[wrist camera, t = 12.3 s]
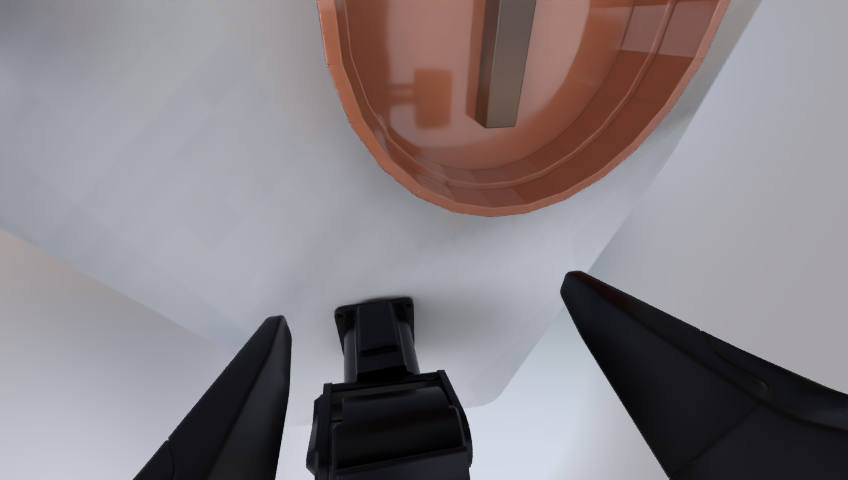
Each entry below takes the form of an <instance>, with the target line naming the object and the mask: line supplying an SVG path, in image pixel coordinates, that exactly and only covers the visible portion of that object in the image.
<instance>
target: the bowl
mask: <svg viewBox="0 0 848 480" xmlns="http://www.w3.org/2000/svg"><path fill="white" fill-rule="evenodd" d="M729 3H730V0H536V6H535V12H534V18H533V24H532V29H531V35H530V41H529V47H528V53H527V59H526V65H525V71H524V77H523V83H522V89H521V95H520V101H519V107H518V113H517V119H516V124H515V127H507V128H490V129H486V128H484V127H483V126H481V125H480V124H479V123H477V122H476V121H475V111H476V100H477V90H478V79H479V69H480V58H481V47H482V37H483V26H484V15H485V5H486V0H317V6H318V12H319V19H320V25H321V32H322V38H323V45H324V51H325V58H326V64H327V65H328V70H329V73H330V75H331V78H332V80H333V83H334V85H335V88H336V90H337V93H338V95H339V98H340V100H341V103H342V105H343V108H344V110H345V113H346V115H347V118H348V120H349V123H350V124H351V127H352V128H353V129H354V131H355V132H356V134H357V135H358V136H359V138H360V139H361V141H362V142H363V143H364V145H365V146H366V148H367V149H368V150H369V152H370V153H371V155H372V156H373V157H374V159H375V160H376V162H377V163H378V164H379V166H380V167H382V169H383V170H384V171H386V172H387V173H388V174H389V175H390V176H392V177H393V178H394V179H395V180H397V181H398V182H399V183H400V184H402V185H403V186H404V187H405V188H406V189H408V190H409V191H410V192H411V193H413V194H414V195H416V196H417V197H419V198H421V199H424V200H426V201H428V202H431V203H433V204H435V205H438V206H440V207H442V208H445V209H447V210H449V211H452V212H456V213H463V214H471V215H478V216H485V217H496V216H506V215H515V214H524V213H529V212H531V211H534V210H537V209H540V208H543V207H546V206H549V205H552V204H555V203H558V202H560V201H563V200H565V199H567V198H569V197H571V196H572V195H574V194H576V193H578V192H579V191H581V190H583V189H585V188H586V187H588V186H590V185H591V184H593V183H595V182H597V181H598V180H600V179H601V178H603V177H604V176H606V175H607V174H608V173H609V172H610V171H611V170H613V169H614V168H615V167H616V166H617V165H619V164H620V163H621V162H622V161H623V160H625V159H626V158H627V157H628V156H629V155H631V154H632V153H633V152H634V151H635V150H637V148H638V147H639V146H640V145H641V144H642V143H643V142H644V140H645V139H646V138H647V137H648V136H649V135H650V133H651V132H652V131H653V130H654V129H655V128H656V127H657V125H658V124H659V123H660V122H661V121H662V120H663V119H664V117H665V116H666V115H667V114H668V113H669V112H670V111H671V108H673V106H674V105H675V103H676V102H677V100H678V99H679V97H680V96H681V94H682V92H683V91H684V89H685V88H686V86H687V85H688V83H689V81H690V80H691V78H692V77H693V75H694V74H695V72H696V71H697V69H698V67H699V66H700V64H701V63H702V61H703V59H704V58H705V55H706V53H707V51H708V49H709V47H710V44H711V42H712V40H713V38H714V36H715V33H716V31H717V29H718V27H719V25H720V22H721V20H722V18H723V16H724V14H725V11H726V9H727V7H728V5H729Z"/></svg>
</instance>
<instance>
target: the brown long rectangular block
mask: <svg viewBox="0 0 848 480" xmlns="http://www.w3.org/2000/svg"><path fill="white" fill-rule="evenodd" d="M535 6H536V0H486V5H485V15H484V26H483V37H482V47H481V58H480V69H479V79H478V90H477V100H476V111H475V121H476V122H477V123H479V124H480V125H481V126H483V127H484V128H486V129H490V128H507V127H515V124H516V119H517V113H518V107H519V101H520V95H521V89H522V83H523V77H524V71H525V65H526V59H527V53H528V47H529V41H530V35H531V29H532V24H533V18H534V12H535Z"/></svg>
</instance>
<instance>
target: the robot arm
mask: <svg viewBox="0 0 848 480" xmlns="http://www.w3.org/2000/svg"><path fill="white" fill-rule="evenodd" d="M560 293H561V297H562V299H563V301H564V303H565V305H566V307H567V309H568V311H569V313H570V315H571V317H572V320H573V322H574V324H575V326H576V328H577V330H578V332H579V334H580V335H581V337H582V339H583V341H584V342H585V344H586V346H587V347H588V349H589V350H590V352H591V354H592V355H593V356H594V358H595V360H596V362H597V363H598V365H599V367H600V368H601V370H602V371H603V373H604V375H605V376H606V378H607V380H608V381H609V383H610V384H611V386H612V388H613V389H614V391H615V392H616V394H617V396H618V397H619V399H620V401H621V402H622V404H623V405H624V407H625V408H626V410H627V412H628V413H629V415H630V417H631V418H632V420H633V422H634V423H635V425H636V426H637V428H638V430H639V431H640V433H641V435H642V436H643V437H644V439H645V441H646V443H647V444H648V446H649V447H650V449H651V451H652V452H653V454H654V455H655V457H656V459H657V460H658V462H659V464H660V465H661V467H662V468H663V470H664V472H665V473H666V475H667V477H669V480H848V394H845V393H842V392H839V391H836V390H833V389H831V388H828V387H826V386H823V385H821V384H819V383H817V382H814V381H812V380H810V379H807V378H805V377H803V376H800V375H798V374H796V373H793V372H791V371H789V370H787V369H784V368H782V367H780V366H777V365H775V364H773V363H771V362H768V361H766V360H763V359H762V358H759V357H757V356H755V355H752V354H750V353H748V352H746V351H743V350H741V349H739V348H737V347H735V346H733V345H731V344H729V343H726V342H724V341H722V340H720V339H718V338H716V337H714V336H712V335H710V334H708V333H706V332H704V331H700V330H699V329H698V328H696V327H694V326H692V325H690V324H688V323H686V322H683V321H682V320H679V319H677V318H675V317H673V316H671V315H669V314H667V313H665V312H663V311H661V310H659V309H657V308H655V307H653V306H651V305H649V304H647V303H645V302H643V301H641V300H639V299H637V298H635V297H633V296H631V295H629V294H626V293H625V292H622V291H620V290H619V289H616V288H614V287H612V286H610V285H608V284H606V283H604V282H602V281H600V280H598V279H596V278H594V277H592V276H590V275H588V274H586V273H584V272H582V271H571V272H568V273H567V274H566V275H565V278H564V281H563V284H562V286H561V289H560ZM407 303H409V304H407ZM335 321H336V325H337V329H338V334H339V338H340V342H341V346H342V350H343V355H344V383H338V384H332V383H326V384H324V388H323V394H322V395H320V397H319V398H317V399H316V400H315V401H314V414H313V424H312V431H311V436H310V441H309V447H308V452H307V458H306V468H307V469H308V470H309V471H310V472H311V473H312V474H313V475H314V476H315V480H470V475H469V468H470V467H471V464H472V457H473V455H472V454H473V452H472V451H473V449H472V439H471V433H470V429H469V424H468V421H467V418H466V415H465V412H464V410H463V408H462V406H461V404H460V402H459V400H458V397H457V395H456V393H455V391H454V389H453V387H452V385H451V383H450V381H449V379H448V377H447V375H446V373H445V370H437V372H430V373H422V374H420V370H419V366H418V361H417V357H416V352H415V348H414V304H413V300H412V299H411V298H402V299H395V300H389V301H382V302H376V303H369V304H362V305H356V306H349V307H343V308H338V309H336V310H335ZM291 346H292V337H291V333H290V330H289V327H288V325H287V322H286V319H285V317H284V316H282V315H279V316H272V317H268V318H267V319H266V320H265V321H264V322H263V323H262V325H261V326H260V327H259V328H258V330H257V331H256V332H255V333H254V334H253V336H252V337H251V338H250V339H249V340H248V342H247V343H246V344H245V345H244V347H243V348H242V349H241V350H240V351H239V353H238V354H237V355H236V356H235V357H234V359H233V360H232V361H231V362H230V364H229V365H228V366H227V367H226V368H225V370H224V371H223V372H222V374H220V376H219V377H218V378H217V379H216V381H215V382H214V383H213V384H212V385H211V386H210V388H209V389H208V390H207V391H206V393H205V394H204V395H203V396H202V398H201V399H200V400H199V401H198V402H197V403H196V405H195V406H194V407H193V408H192V410H191V411H190V412H189V413H188V414H187V416H186V417H185V418H184V419H183V420H182V422H181V423H180V424H179V425H178V426H177V428H176V429H175V430H174V431H173V433H172V434H171V435H170V436H169V438H168V439H169V440H167V441H165V442H164V443H163V445H162V446H161V447H160V448H159V449H158V451H157V452H156V453H155V454H154V455H153V457H152V458H151V459H150V460H149V461H148V462H147V464H146V465H145V466H144V467H143V468H142V470H141V471H140V472H139V473H138V474H137V475H136V477H135V478H134V479H133V480H275V477H276V471H277V465H278V458H279V452H280V447H281V440H282V434H283V428H284V422H285V416H286V410H287V404H288V397H289V388H290V368H291Z"/></svg>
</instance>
